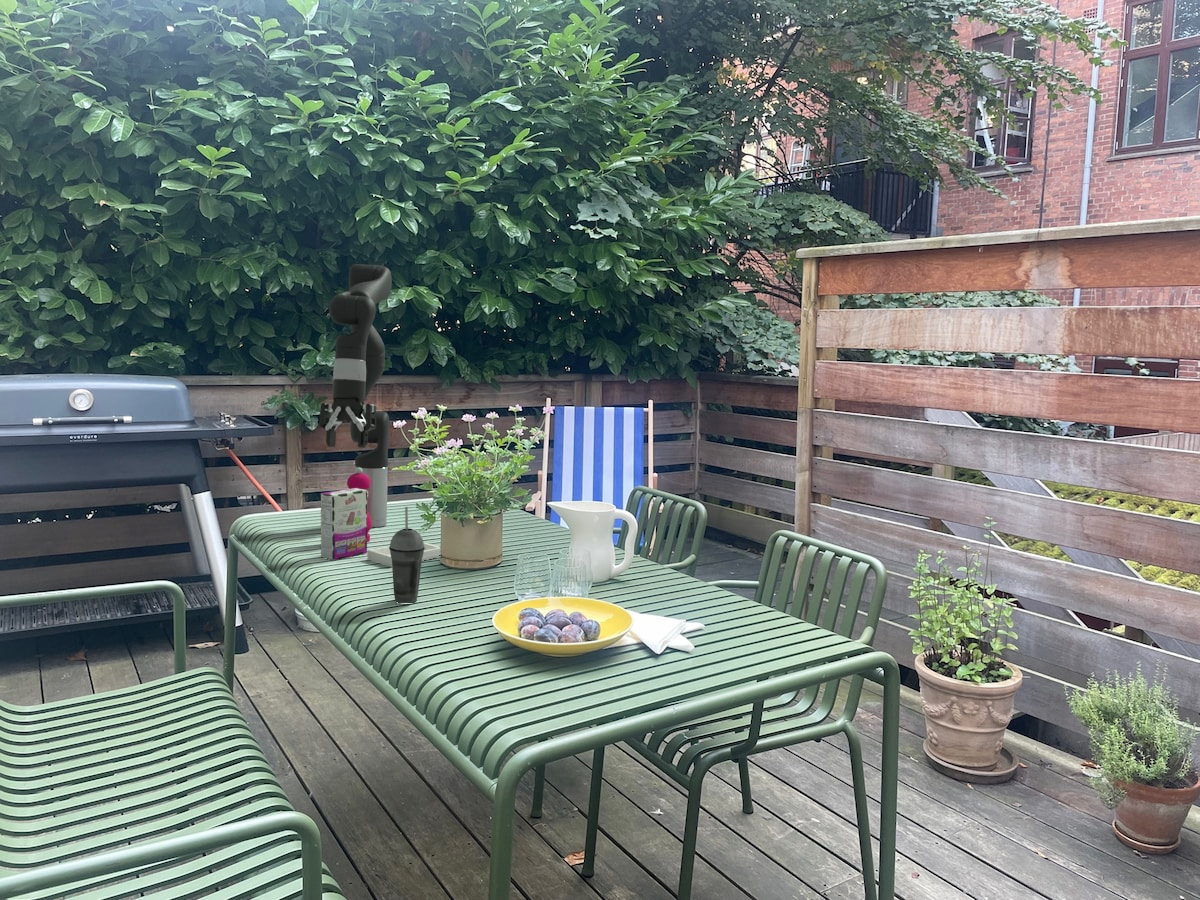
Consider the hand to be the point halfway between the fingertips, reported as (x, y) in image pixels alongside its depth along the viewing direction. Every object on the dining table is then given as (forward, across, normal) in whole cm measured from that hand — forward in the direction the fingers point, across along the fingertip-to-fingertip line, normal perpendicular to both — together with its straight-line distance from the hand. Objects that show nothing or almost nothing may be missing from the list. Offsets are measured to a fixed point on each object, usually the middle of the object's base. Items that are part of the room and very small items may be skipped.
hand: (346, 447), depth 210 cm
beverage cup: (+32, -27, +16) cm, 45 cm away
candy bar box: (+27, +6, -10) cm, 30 cm away
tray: (+27, -8, -15) cm, 32 cm away
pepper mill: (+25, +12, -25) cm, 38 cm away
